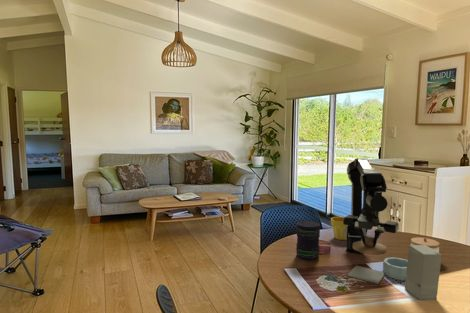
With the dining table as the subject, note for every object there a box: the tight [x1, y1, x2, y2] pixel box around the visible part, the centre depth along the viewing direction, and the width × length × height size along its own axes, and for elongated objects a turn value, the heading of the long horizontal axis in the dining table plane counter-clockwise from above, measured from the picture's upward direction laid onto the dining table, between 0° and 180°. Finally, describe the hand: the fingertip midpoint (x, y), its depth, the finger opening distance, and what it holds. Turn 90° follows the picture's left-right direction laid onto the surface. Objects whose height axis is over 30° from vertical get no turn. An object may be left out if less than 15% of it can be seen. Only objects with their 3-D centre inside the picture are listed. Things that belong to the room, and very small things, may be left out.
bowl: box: [382, 256, 408, 281], centre depth 127 cm, size 10×10×4 cm
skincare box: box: [404, 244, 443, 301], centre depth 111 cm, size 8×7×16 cm
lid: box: [353, 235, 388, 256], centre depth 125 cm, size 12×12×4 cm
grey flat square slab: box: [347, 265, 386, 285], centre depth 126 cm, size 11×11×1 cm
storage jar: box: [295, 219, 321, 262], centre depth 143 cm, size 10×10×15 cm
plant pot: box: [330, 216, 347, 241], centre depth 169 cm, size 10×10×10 cm
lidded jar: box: [410, 237, 440, 253], centre depth 142 cm, size 11×11×9 cm
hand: (369, 245), depth 125 cm, fingers closed on lid, 3 cm apart
